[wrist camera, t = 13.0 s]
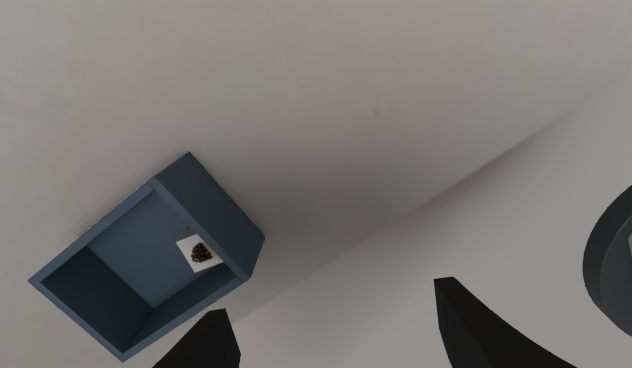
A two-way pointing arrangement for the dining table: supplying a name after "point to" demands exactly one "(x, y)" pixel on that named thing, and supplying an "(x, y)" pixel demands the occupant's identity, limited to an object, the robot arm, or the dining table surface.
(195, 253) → the cube with brown bumps
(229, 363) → the robot arm
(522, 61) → the dining table surface
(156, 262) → the bin
